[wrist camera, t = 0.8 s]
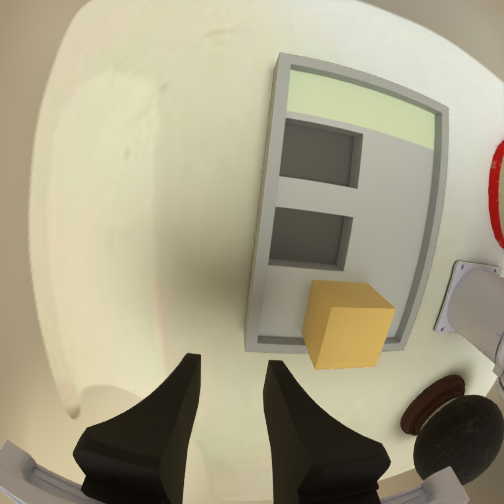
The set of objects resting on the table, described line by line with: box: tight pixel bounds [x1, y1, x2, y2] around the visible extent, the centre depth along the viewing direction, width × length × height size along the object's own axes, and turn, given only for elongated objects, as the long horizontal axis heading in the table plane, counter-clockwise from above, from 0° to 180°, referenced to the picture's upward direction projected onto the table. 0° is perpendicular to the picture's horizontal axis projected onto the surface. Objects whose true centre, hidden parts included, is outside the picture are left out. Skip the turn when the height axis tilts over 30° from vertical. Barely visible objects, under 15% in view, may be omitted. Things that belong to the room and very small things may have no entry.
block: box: [301, 279, 396, 369], centre depth 18 cm, size 4×4×4 cm
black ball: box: [400, 375, 504, 485], centre depth 20 cm, size 13×13×15 cm
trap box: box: [244, 52, 449, 354], centre depth 19 cm, size 14×21×3 cm, turn 174°
